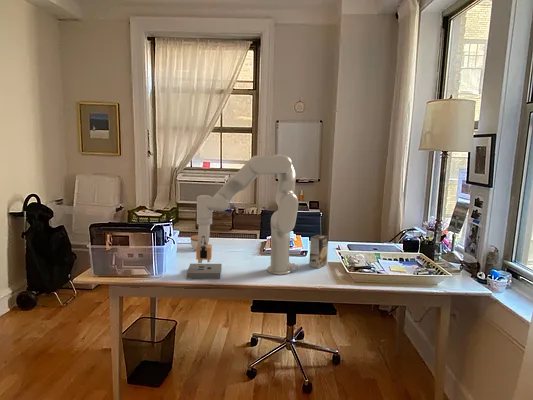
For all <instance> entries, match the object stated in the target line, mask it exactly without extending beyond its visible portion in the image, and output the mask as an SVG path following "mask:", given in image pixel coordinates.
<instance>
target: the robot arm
mask: <svg viewBox="0 0 533 400" xmlns="http://www.w3.org/2000/svg"><path fill="white" fill-rule="evenodd" d="M276 174H277V175H278V181H277V182H278V183H277V191H276V195H275V203H276V205H277V206H278V207H277V208H278V210H276V211H274V212H273V214H272V215H271V217H270V231H271V235H270V237H271V240H270V265H269V266H268V267H267V268H266V269H267V272H269V274H273V275H281V276H283V275H289V274H291V273H292V270H293V269H298V268H299V265H298V264H297V263H295V262H293V263H292V262H290V246H291V245H290V243H291V242H290V241H291V232H293V230H294V228H295V227H296V221H297V216H298V209H299V199H298V197H297V195H296V194H295V191H296V180H297V179H296V171H295V168H294V165H293V162H292V159H291V157H289V156H288V155H286V154H281V153H277V154H274V155H270V156H261V155H253V156H252V157H251V158H250V159H248V161H246V163H244V164H243V166H242V167H241V168H240V169H239V170H237V172H236V173H235V174H234V175H233V176H232V177H231V178H230V179H229V180H228V181H227V182H226V183H224V185H223V186H221V188H220V189H219V190H218V191H217V192H216V193H215V194H214V195H213V196H211V195H208V194H201V195H198V196H196V224H197V225H198V230H197V232H198V233H197V235H198V245H199V244H200V243H201V250H200V258H207V250H206V247H207V244H209V243H210V235H211V234H210V233H211V232H210V231H211V225H212V224H213V211H214V212H219V213H220V212H225V211H227V209H228V208H229V205H230V203H229V201H231V199H232V198H233V197H234V196H235V195H236V194H238V193H239V192H242V191H244V190H245V189H247V188H248V187H249V186H250V185H251V184H252V182H254V180H255V179H256V178H258V176H259V175H276ZM204 245H205V246H204Z"/></svg>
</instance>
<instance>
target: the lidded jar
mask: <svg viewBox="0 0 533 400" xmlns="http://www.w3.org/2000/svg"><path fill="white" fill-rule="evenodd" d="M190 244H191V245H190V246H191V247H192V249H194V251H196V247H197V245H198V234H195V235H191V236H190ZM200 244H201V243H200Z"/></svg>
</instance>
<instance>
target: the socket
mask: <svg viewBox="0 0 533 400" xmlns="http://www.w3.org/2000/svg"><path fill="white" fill-rule="evenodd" d="M222 266H223V265H222V263H190V264H189V266H188V268H187V271H186V280H221V274H222V270H223V269H222Z"/></svg>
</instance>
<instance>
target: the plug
mask: <svg viewBox="0 0 533 400" xmlns="http://www.w3.org/2000/svg"><path fill="white" fill-rule="evenodd" d="M204 246H205V245H204ZM212 249H213V244H209V243H208V244H207V247H206V250H207V258H200V250H201V244H199V245H197V247H196V250H195V251H196V252H195V253H196V256H195V257H196V258H195V259H196V261H197V264H203V260H204V261H207V263H211V262H210V261H212V256H213V251H212Z"/></svg>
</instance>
